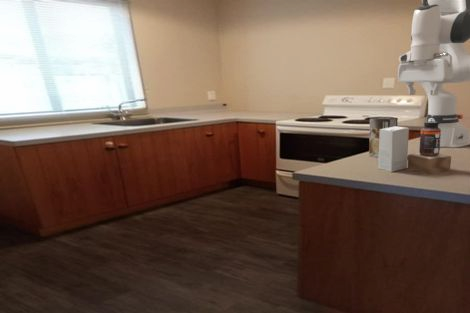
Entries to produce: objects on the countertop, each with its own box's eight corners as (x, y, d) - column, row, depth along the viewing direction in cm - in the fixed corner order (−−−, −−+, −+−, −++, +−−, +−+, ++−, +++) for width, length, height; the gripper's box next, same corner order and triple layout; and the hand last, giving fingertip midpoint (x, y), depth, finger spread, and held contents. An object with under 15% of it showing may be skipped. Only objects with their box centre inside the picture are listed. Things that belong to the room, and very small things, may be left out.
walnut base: (427, 165, 120) (428, 151, 118) (450, 170, 111) (451, 155, 110) (407, 168, 117) (408, 153, 116) (429, 174, 109) (430, 158, 108)
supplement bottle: (442, 156, 110) (444, 122, 107) (422, 156, 111) (424, 123, 109) (435, 152, 115) (437, 120, 113) (416, 153, 117) (418, 121, 114)
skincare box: (393, 165, 122) (395, 125, 119) (408, 168, 117) (410, 127, 114) (377, 169, 119) (378, 128, 116) (391, 172, 113) (393, 129, 110)
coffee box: (397, 156, 136) (398, 117, 133) (389, 159, 132) (390, 119, 129) (376, 153, 143) (377, 116, 140) (368, 156, 140) (369, 118, 136)
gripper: (459, 51, 106) (456, 94, 109) (408, 56, 125) (407, 93, 128) (444, 52, 104) (441, 96, 107) (395, 57, 123) (394, 95, 126)
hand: (422, 94), depth 118 cm, fingers open, 8 cm apart
